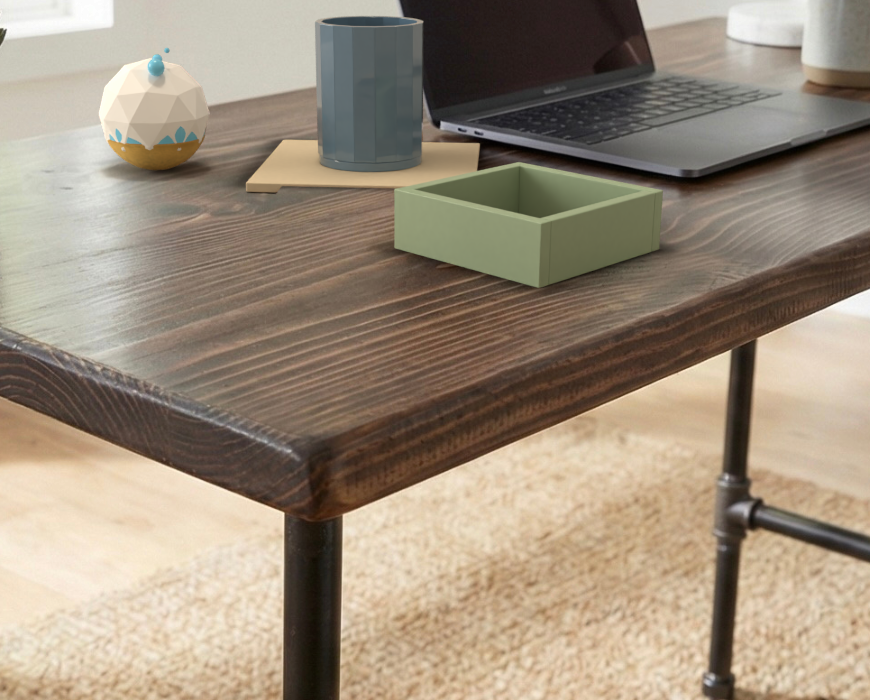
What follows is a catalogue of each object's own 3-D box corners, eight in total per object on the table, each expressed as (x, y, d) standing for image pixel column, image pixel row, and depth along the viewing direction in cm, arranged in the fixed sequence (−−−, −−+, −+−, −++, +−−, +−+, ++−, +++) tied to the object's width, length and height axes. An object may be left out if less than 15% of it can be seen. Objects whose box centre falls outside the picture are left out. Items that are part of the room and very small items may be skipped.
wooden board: (479, 151, 92) (480, 143, 92) (474, 196, 79) (474, 187, 79) (283, 147, 93) (283, 139, 92) (246, 192, 79) (245, 182, 79)
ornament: (84, 167, 86) (73, 44, 83) (180, 154, 90) (173, 36, 87) (133, 185, 81) (123, 55, 78) (232, 170, 85) (226, 46, 82)
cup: (425, 152, 89) (426, 16, 85) (418, 173, 82) (419, 27, 79) (326, 150, 89) (323, 15, 86) (311, 171, 82) (308, 25, 79)
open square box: (516, 223, 73) (518, 161, 72) (658, 257, 67) (663, 190, 65) (394, 256, 66) (393, 188, 65) (538, 296, 60) (541, 223, 59)
